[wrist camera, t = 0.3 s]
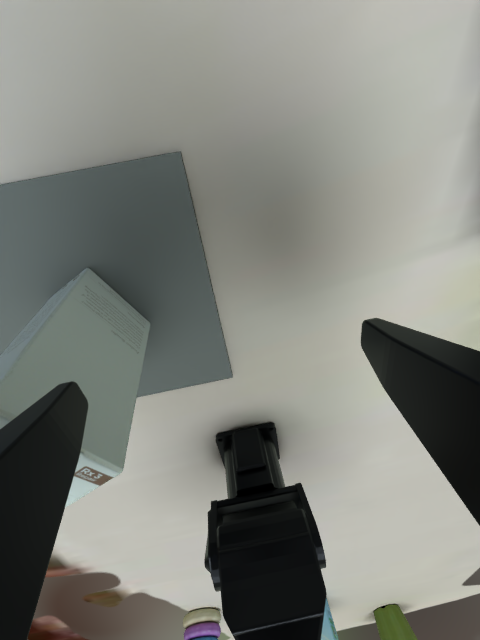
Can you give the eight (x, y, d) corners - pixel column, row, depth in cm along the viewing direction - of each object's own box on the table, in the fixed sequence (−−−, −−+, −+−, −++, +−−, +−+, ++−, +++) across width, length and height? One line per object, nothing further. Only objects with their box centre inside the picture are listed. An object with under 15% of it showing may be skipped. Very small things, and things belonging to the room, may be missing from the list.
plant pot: (409, 597, 77) (439, 661, 67) (402, 609, 83) (428, 669, 74) (367, 606, 76) (391, 672, 67) (363, 618, 83) (384, 680, 73)
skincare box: (47, 300, 20) (-110, 464, 10) (91, 262, 19) (-31, 400, 9) (116, 352, 23) (52, 520, 13) (157, 322, 22) (124, 477, 12)
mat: (232, 374, 26) (232, 377, 26) (-28, 428, 26) (-32, 432, 25) (180, 151, 17) (180, 151, 16) (-239, 229, 16) (-249, 231, 16)
